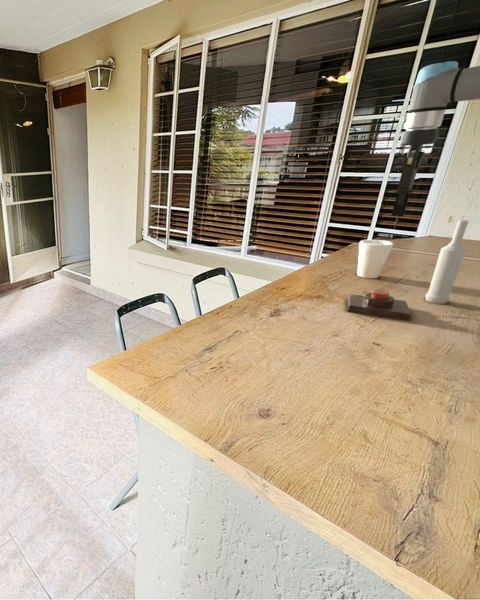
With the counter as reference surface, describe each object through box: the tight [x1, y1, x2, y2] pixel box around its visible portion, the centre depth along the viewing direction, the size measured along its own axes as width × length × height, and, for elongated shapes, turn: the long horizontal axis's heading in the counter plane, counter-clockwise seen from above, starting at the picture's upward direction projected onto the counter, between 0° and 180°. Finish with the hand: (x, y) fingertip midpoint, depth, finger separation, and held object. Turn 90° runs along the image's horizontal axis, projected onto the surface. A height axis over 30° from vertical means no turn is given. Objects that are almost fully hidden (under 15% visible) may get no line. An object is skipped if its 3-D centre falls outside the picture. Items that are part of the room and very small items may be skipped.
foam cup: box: [356, 239, 394, 279], centre depth 131 cm, size 10×9×13 cm
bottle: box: [425, 219, 470, 305], centre depth 105 cm, size 5×5×25 cm
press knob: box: [370, 289, 390, 300], centre depth 105 cm, size 4×4×2 cm
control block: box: [347, 292, 412, 321], centre depth 106 cm, size 14×11×4 cm
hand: (397, 215), depth 105 cm, fingers closed
